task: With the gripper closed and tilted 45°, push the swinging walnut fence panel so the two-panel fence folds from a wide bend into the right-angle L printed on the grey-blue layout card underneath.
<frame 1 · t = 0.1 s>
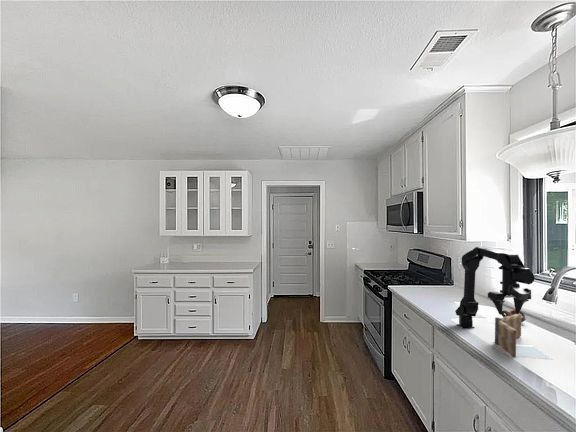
hand: (509, 314, 159), 15 cm above the worktop, tool pointing down, fingers open, 9 cm apart
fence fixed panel: (497, 343, 161), resting on layout card
layout card: (497, 344, 161), on the worktop
pottery mug: (512, 322, 198), on the worktop
fence swing panel: (510, 327, 167), point 6 cm above the worktop, hinge at 0.0°
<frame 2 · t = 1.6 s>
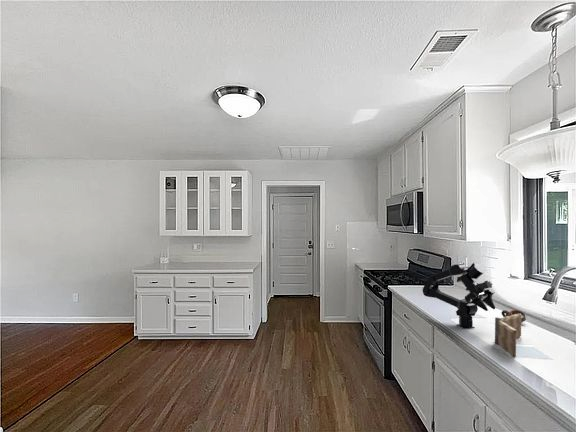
hand: (491, 309, 175), 13 cm above the worktop, tool tilted 45°, fingers open, 6 cm apart
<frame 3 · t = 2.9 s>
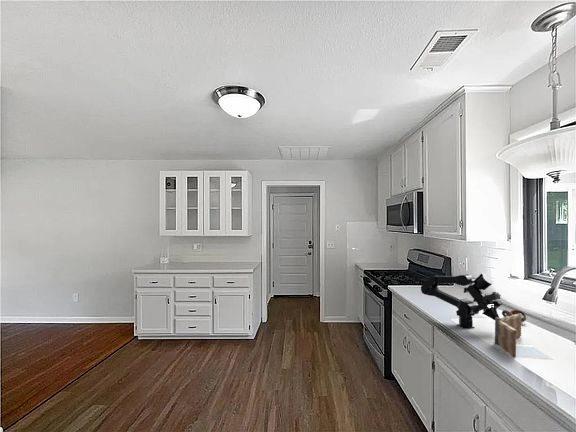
hand: (499, 321, 172), 7 cm above the worktop, tool tilted 45°, fingers closed
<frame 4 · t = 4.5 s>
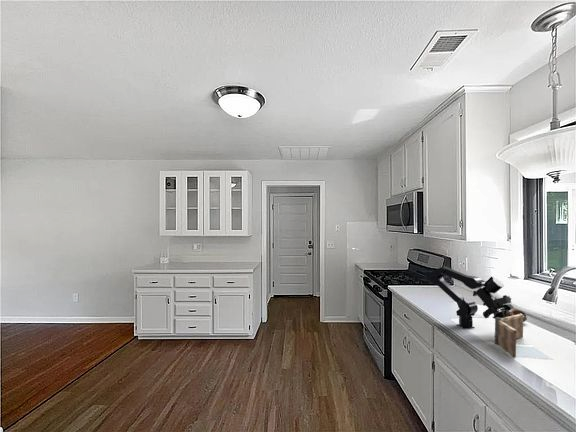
hand: (510, 326, 167), 7 cm above the worktop, tool tilted 45°, fingers closed, pressing on fence swing panel
fence swing panel: (511, 328, 166), point 6 cm above the worktop, hinge at 2.5°, touching gripper
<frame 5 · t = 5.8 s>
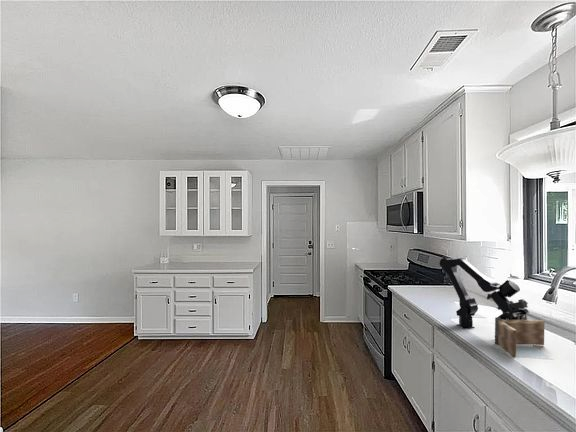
hand: (526, 331, 161), 6 cm above the worktop, tool tilted 45°, fingers closed
fence swing panel: (522, 332, 160), point 6 cm above the worktop, hinge at 34.3°, touching gripper
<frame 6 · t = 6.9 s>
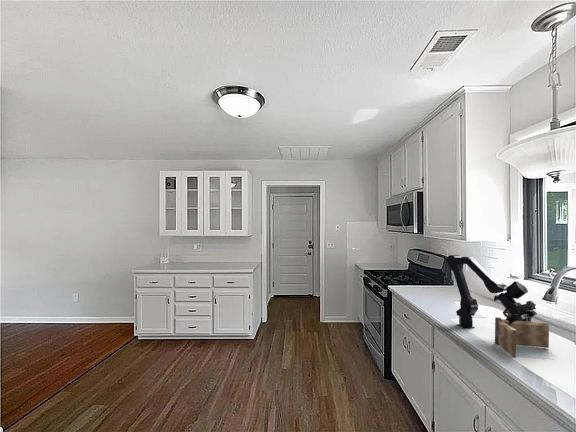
hand: (534, 334, 159), 6 cm above the worktop, tool tilted 45°, fingers closed
fence swing panel: (524, 333, 158), point 6 cm above the worktop, hinge at 44.5°, touching gripper
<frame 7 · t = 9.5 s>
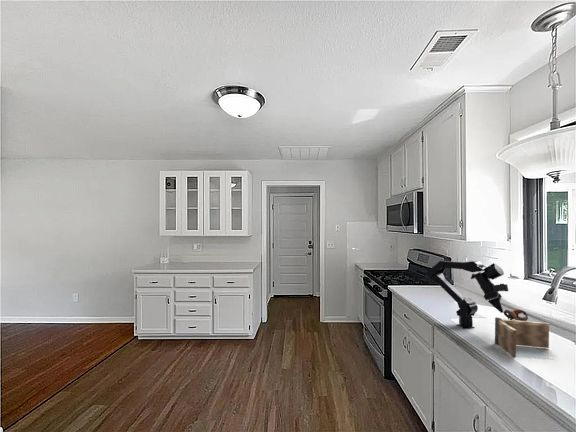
hand: (502, 312, 171), 12 cm above the worktop, tool tilted 35°, fingers closed
fence swing panel: (524, 333, 158), point 6 cm above the worktop, hinge at 44.7°
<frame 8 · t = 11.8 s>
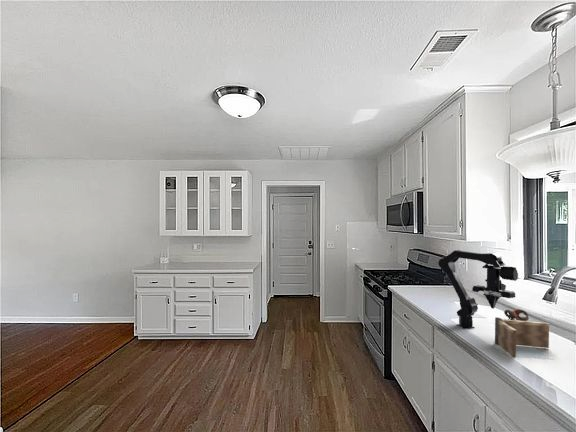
hand: (492, 308, 176), 13 cm above the worktop, tool pointing down, fingers closed
at the end: fence swing panel at +45° (first picture: +0°); pottery mug moved 3.8 cm from its start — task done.
